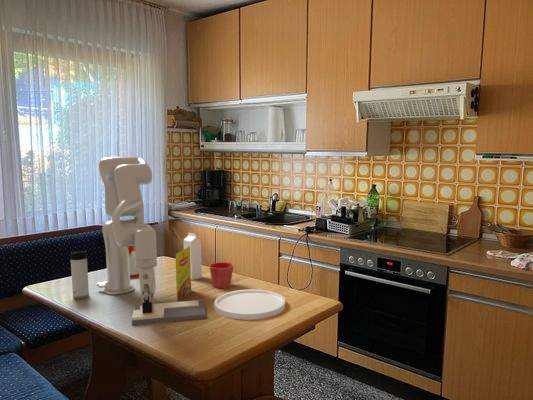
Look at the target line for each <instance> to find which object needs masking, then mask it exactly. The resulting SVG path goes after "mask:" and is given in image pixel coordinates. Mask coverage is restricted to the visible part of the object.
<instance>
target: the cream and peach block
mask: <svg viewBox="0 0 533 400" xmlns="http://www.w3.org/2000/svg"><path fill="white" fill-rule="evenodd" d="M154 297H155V294H154V295H151V301H152V313H143V308H142V309H141V310H135V309H133V311H132V315H131V321H132V320H142V319H153V318H164V308H154V304H155V299H154ZM142 302H143V296H142V295H141V303H142Z"/></svg>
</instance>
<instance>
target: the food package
mask: <svg viewBox="0 0 533 400" xmlns="http://www.w3.org/2000/svg"><path fill="white" fill-rule="evenodd" d="M175 278H176V280H175V281H176V302H181V300H182V299H183V298H185V297H186V296H187V295H188V294H189V293H191V292H192V280H191V267H190V246H189V247H187V248H186V249H184V248H183V249H182V250H181V251H178V252H177V253H176V254H175Z"/></svg>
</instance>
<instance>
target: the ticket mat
mask: <svg viewBox="0 0 533 400" xmlns="http://www.w3.org/2000/svg"><path fill="white" fill-rule="evenodd" d="M134 306H135V305H134ZM154 308H164V318H153V319H142V320H132V319H131V325H132V326H134V325H135V326H137V325H147V324H148V325H149V324H158V323H167V322H168V323H169V322H178V321H179V322H180V321H188V320H200V319H206V318H207V315H206V308H205V303H204V300H199V299H197V300H196V299H195V300H187V301H184V300H183V301H178V302H177V301H172V302H162V303H154ZM141 309H142V304H140V305H136V306H135V307H134V310H141Z"/></svg>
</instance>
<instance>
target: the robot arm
mask: <svg viewBox="0 0 533 400" xmlns="http://www.w3.org/2000/svg"><path fill="white" fill-rule="evenodd" d="M98 171H99V175H100V178H101V180H102V182H103V186H104V188H103V189H104V207H105V209H104V210H105V213H106V215H107V216H108V217H110V218H111V220H107V221H106V222H104V224H103V225H102V229H101V230H102V237H103V240H104V246H105V259H106V275H107V276H106V277H107V280H105V281H102V282H101V281H100V282H98V281H97V283H96V287H97V288H99V289H102V288H104V291H103V292H104V293H105V294H106V295H122V294H127V293H130V292H133V291H134V289H135V285H134V284H133V283H131V278H130V266H129V251H128V248H129V246H134V252H135V267H136V268H138V269H139V277H138V278H139V290H140V296H141V297H142V296H143V302H142V301H141V305H142V308H143V313H152V301H151V295H154V296H155V294H156V290H157V289H156V286H157V285H156V284H157V283H156V269H155V268H156V267H157V266H158V259H157V258H158V256H157V234H156V229H154V228H153V227H152V226H151V225H150V224H145V205H144V201H143V195H142V191H141V187H140V185H143V186H145V185H149V184H151V183H152V180H153V173H152V169H151V167H150V165H149V164H148V163H147V162H146V161H145V160H144V159H143V158H142V157H139V156H108V157H103V158H101V159H100V160H99V162H98ZM122 217H129V218H122ZM130 217H131V218H130Z"/></svg>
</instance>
